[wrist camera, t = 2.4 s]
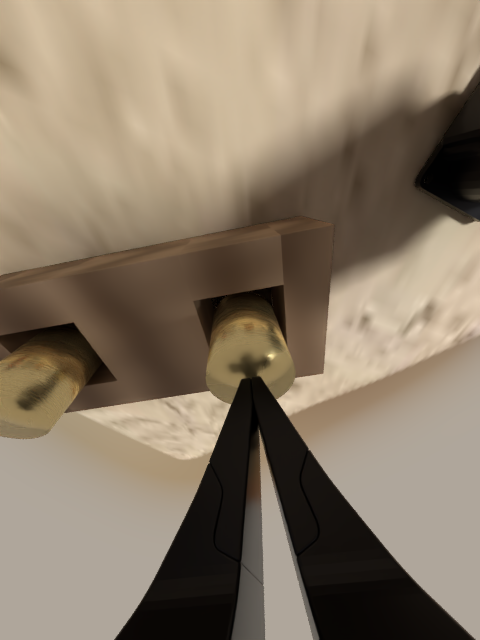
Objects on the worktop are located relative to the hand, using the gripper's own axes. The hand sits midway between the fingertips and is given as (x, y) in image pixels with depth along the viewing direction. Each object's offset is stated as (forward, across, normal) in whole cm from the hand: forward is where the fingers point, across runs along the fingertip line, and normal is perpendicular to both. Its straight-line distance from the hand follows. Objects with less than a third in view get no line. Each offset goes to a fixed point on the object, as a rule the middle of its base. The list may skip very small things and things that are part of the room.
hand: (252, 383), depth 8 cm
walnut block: (+9, +6, 0) cm, 11 cm away
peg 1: (+5, +12, 0) cm, 13 cm away
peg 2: (+5, 0, 0) cm, 5 cm away
